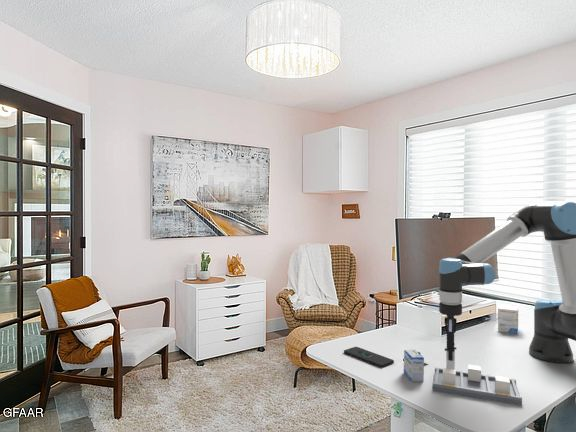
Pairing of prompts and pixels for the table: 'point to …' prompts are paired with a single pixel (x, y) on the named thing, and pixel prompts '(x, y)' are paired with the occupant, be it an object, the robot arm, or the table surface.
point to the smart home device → (369, 357)
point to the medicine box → (413, 365)
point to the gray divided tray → (476, 387)
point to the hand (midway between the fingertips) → (450, 368)
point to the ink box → (508, 319)
